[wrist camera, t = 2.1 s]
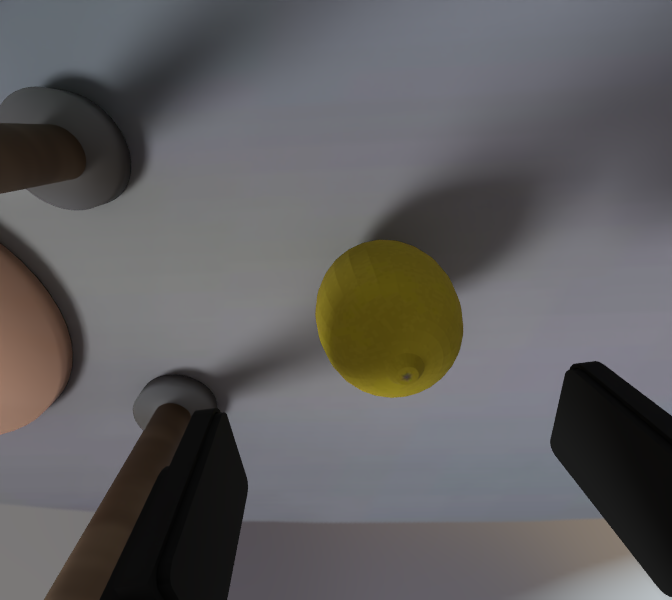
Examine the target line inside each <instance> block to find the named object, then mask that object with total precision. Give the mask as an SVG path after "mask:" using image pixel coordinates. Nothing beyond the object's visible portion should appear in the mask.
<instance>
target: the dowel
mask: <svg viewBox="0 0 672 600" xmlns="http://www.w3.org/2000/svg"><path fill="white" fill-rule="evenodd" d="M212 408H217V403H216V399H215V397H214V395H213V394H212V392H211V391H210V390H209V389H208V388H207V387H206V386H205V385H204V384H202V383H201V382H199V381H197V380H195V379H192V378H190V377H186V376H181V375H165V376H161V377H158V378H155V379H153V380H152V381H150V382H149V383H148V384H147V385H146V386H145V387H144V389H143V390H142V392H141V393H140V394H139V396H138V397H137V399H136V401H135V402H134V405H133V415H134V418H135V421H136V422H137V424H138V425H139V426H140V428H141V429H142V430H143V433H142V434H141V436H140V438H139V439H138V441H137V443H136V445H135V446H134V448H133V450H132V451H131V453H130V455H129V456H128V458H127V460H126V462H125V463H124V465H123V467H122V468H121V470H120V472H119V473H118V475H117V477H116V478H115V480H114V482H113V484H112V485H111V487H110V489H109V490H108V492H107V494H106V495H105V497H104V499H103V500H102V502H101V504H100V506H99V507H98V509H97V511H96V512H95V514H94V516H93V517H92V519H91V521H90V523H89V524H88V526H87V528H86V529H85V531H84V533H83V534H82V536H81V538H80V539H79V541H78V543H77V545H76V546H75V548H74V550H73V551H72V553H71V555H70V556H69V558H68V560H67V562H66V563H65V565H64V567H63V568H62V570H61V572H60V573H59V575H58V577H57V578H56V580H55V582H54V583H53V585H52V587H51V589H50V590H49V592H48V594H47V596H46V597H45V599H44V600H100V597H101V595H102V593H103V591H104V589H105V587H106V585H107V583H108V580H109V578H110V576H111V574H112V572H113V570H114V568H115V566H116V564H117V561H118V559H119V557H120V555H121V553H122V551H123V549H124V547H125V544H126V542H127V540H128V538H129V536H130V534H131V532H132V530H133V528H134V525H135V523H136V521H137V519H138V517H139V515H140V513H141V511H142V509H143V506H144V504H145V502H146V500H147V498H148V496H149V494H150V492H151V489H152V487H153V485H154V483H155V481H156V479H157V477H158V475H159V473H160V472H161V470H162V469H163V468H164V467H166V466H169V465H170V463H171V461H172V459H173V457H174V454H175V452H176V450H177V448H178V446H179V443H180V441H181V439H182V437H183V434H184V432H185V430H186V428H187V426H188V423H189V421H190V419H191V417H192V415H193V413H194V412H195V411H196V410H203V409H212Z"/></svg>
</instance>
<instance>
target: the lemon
mask: <svg viewBox="0 0 672 600" xmlns="http://www.w3.org/2000/svg"><path fill="white" fill-rule="evenodd" d="M315 315H316V323H317V328H318V334H319V338H320V341H321V344H322V346H323V348H324V350H325V352H326V354H327V356H328V358H329V360H330V362H331V364H332V365H333V367H334V368H335V369H336V370H337V371H338V372H339V373H340V375H341V376H342V377H343V378H344V379H345V380H346V381H347V382H349V383H350V384H352V385H354V386H355V387H357V388H358V389H360V390H362V391H364V392H367V393H370V394H373V395H376V396H382V397H391V398H394V397H405V396H409V395H413V394H416V393H419V392H421V391H423V390H425V389H427V388H429V387H431V386H432V385H434V384H435V383H436V382H438V381H439V380H440V379H441V378H442V377H443V376H444V375H445V374H446V373H447V371H448V370H449V369H450V368H451V367H452V365H453V363H454V361H455V359H456V357H457V355H458V353H459V350H460V347H461V342H462V337H463V321H462V311H461V306H460V302H459V299H458V296H457V294H456V292H455V289H454V287H453V285H452V282H451V280H450V278H449V277H448V276H447V274H446V273H445V272H444V271H443V269H442V268H441V267H440V266H439V265H438V264H437V262H436V261H435V260H434V259H433V258H432V257H430V256H429V255H427V254H426V253H424V252H422V251H421V250H419V249H418V248H416V247H414V246H412V245H409V244H406V243H402V242H399V241H395V240H375V241H370V242H365V243H362V244H360V245H357V246H355V247H353V248H351V249H349V250H348V251H346V252H345V253H344V254H342V255H341V256H340V257H339V258H337V259H336V260H335V262H334V263H333V264H332V266H331V267H330V268H329V270H328V271H327V272H326V274H325V276H324V278H323V281H322V283H321V286H320V288H319V291H318V295H317V304H316V313H315Z"/></svg>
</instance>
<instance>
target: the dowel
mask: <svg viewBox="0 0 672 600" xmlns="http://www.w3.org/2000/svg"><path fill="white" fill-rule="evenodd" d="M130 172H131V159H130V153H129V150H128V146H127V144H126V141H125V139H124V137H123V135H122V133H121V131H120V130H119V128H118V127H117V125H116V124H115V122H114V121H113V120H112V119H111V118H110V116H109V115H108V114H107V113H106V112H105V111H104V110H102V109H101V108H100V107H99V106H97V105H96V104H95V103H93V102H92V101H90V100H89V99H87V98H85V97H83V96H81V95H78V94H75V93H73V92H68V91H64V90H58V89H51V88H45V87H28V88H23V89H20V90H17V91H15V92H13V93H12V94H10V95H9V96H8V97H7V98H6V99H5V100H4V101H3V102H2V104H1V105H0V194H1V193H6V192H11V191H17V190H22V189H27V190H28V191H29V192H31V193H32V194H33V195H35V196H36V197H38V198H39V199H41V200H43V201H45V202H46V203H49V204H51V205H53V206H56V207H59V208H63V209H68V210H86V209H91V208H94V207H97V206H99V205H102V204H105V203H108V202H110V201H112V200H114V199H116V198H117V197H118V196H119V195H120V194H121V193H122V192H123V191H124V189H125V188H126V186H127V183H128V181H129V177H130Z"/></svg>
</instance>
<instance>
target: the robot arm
mask: <svg viewBox="0 0 672 600" xmlns="http://www.w3.org/2000/svg"><path fill="white" fill-rule="evenodd" d="M550 444H551V448H552V451H553V453H554V454H555V456H556V457H557V458H558V460H559V461H560V462H561V463H562V465H563V466H564V467H565V469H566V470H567V471H568V472H569V474H570V475H571V476H572V478H573V479H574V480H575V481H576V483H577V484H578V485H579V487H580V488H581V489H582V490H583V492H584V493H585V494H586V496H587V497H588V498H589V499H590V501H591V502H592V503H593V505H594V506H595V507H596V508H597V510H598V511H599V512H600V514H601V515H602V516H603V517H604V519H605V520H606V521H607V522H608V524H609V525H610V526H611V528H612V529H613V530H614V531H615V533H616V534H617V535H618V537H619V538H620V539H621V540H622V542H623V543H624V544H625V546H626V547H627V548H628V549H629V551H630V552H631V553H632V555H633V556H634V557H635V559H636V560H637V561H638V562H639V563H640V565H641V566H642V568H643V569H644V570H645V571H646V573H647V574H648V575H649V576H650V578H651V579H652V580H653V582H654V583H655V584H656V585H657V586H658V588H659V589H660V590H661V591H662V592H663V593H664V594H666V595H668V596H669V597H672V416H671V415H670V414H668V413H667V412H666V411H664V410H663V409H662V408H660V407H659V406H658V405H656V404H655V403H654V402H653V401H651V400H650V399H649V398H647V397H646V396H645V395H643V394H642V393H641V392H639V391H638V390H637V389H635V388H634V387H633V386H631V385H630V384H629V383H627V382H626V381H625V380H623V379H622V378H621V377H619V376H618V375H617V374H615V373H614V372H613V371H612V370H610V369H609V368H608V367H606V366H605V365H604V364H602V363H600V362H597V361H593V362H585V363H577V364H573V365H572V366H571V367H570V370H568V371H567V372H566V373H565V377H564V381H563V386H562V390H561V395H560V399H559V404H558V408H557V413H556V417H555V422H554V426H553V431H552V435H551V440H550ZM247 492H248V481H247V477H246V474H245V470H244V467H243V464H242V461H241V458H240V455H239V451H238V448H237V445H236V442H235V439H234V436H233V432H232V429H231V426H230V423H229V420H228V417H227V414H226V413H220V410H219V409H218V408H212V409H203V410H196V411H195V412H194V413H193V415H192V417H191V419H190V421H189V423H188V426H187V428H186V430H185V432H184V434H183V437H182V439H181V441H180V443H179V446H178V448H177V450H176V452H175V454H174V457H173V459H172V461H171V463H170V465H169V466H166V467H164V468H163V469H162V470H161V472H160V473H159V475H158V477H157V479H156V481H155V483H154V485H153V487H152V489H151V492H150V494H149V496H148V498H147V500H146V502H145V504H144V506H143V509H142V511H141V513H140V515H139V517H138V519H137V521H136V523H135V525H134V528H133V530H132V532H131V534H130V536H129V538H128V540H127V542H126V544H125V547H124V549H123V551H122V553H121V555H120V557H119V559H118V561H117V564H116V566H115V568H114V570H113V572H112V574H111V576H110V578H109V580H108V583H107V585H106V587H105V589H104V591H103V593H102V595H101V597H100V600H227V597H228V592H229V587H230V582H231V576H232V571H233V565H234V561H235V556H236V550H237V545H238V540H239V535H240V529H241V524H242V519H243V514H244V509H245V503H246V498H247Z"/></svg>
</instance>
